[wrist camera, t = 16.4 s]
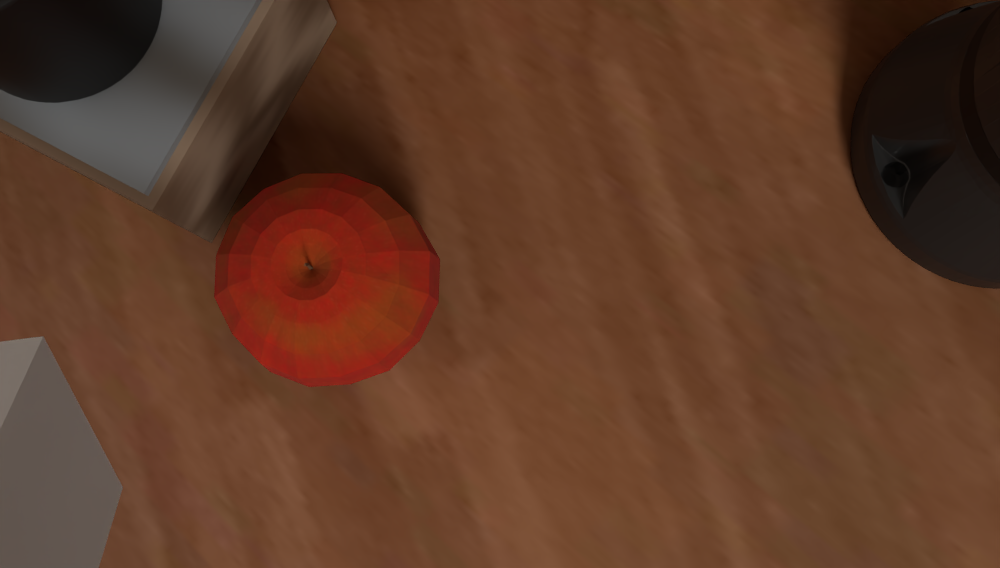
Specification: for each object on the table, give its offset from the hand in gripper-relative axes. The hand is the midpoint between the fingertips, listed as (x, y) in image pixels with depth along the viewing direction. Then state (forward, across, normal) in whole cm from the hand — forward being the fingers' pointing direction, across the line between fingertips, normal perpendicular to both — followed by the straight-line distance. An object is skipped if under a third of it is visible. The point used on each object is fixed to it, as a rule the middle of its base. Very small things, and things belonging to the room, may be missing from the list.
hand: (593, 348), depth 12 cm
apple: (+31, -9, -22) cm, 39 cm away
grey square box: (+41, -18, -13) cm, 46 cm away
